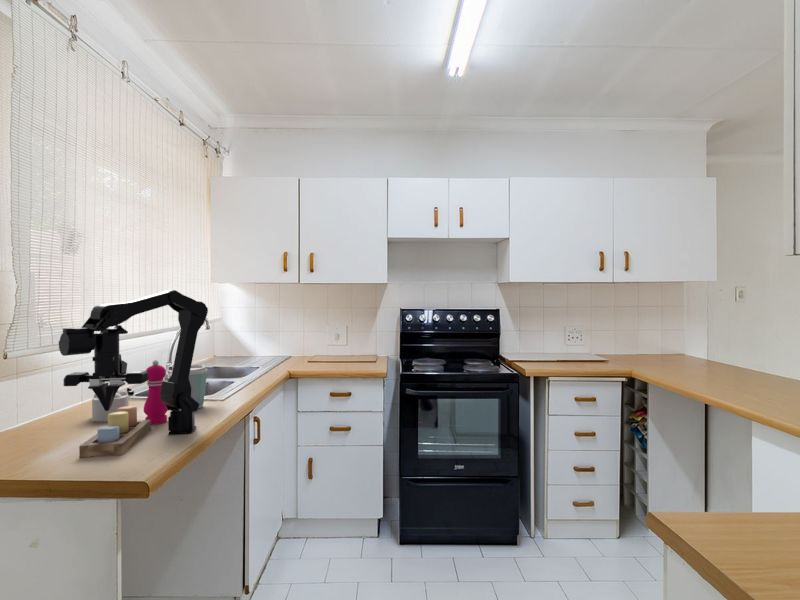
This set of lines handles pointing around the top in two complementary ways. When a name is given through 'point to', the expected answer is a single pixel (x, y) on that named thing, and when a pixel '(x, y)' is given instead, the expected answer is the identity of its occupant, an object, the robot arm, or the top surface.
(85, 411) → the top surface
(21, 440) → the top surface
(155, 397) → the pepper mill
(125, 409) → the salmon rounded lump
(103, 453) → the wooden compartment tray
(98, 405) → the lumpy-topped squat cylinder
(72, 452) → the top surface
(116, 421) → the button ochre
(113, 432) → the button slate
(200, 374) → the disposable coffee cup
